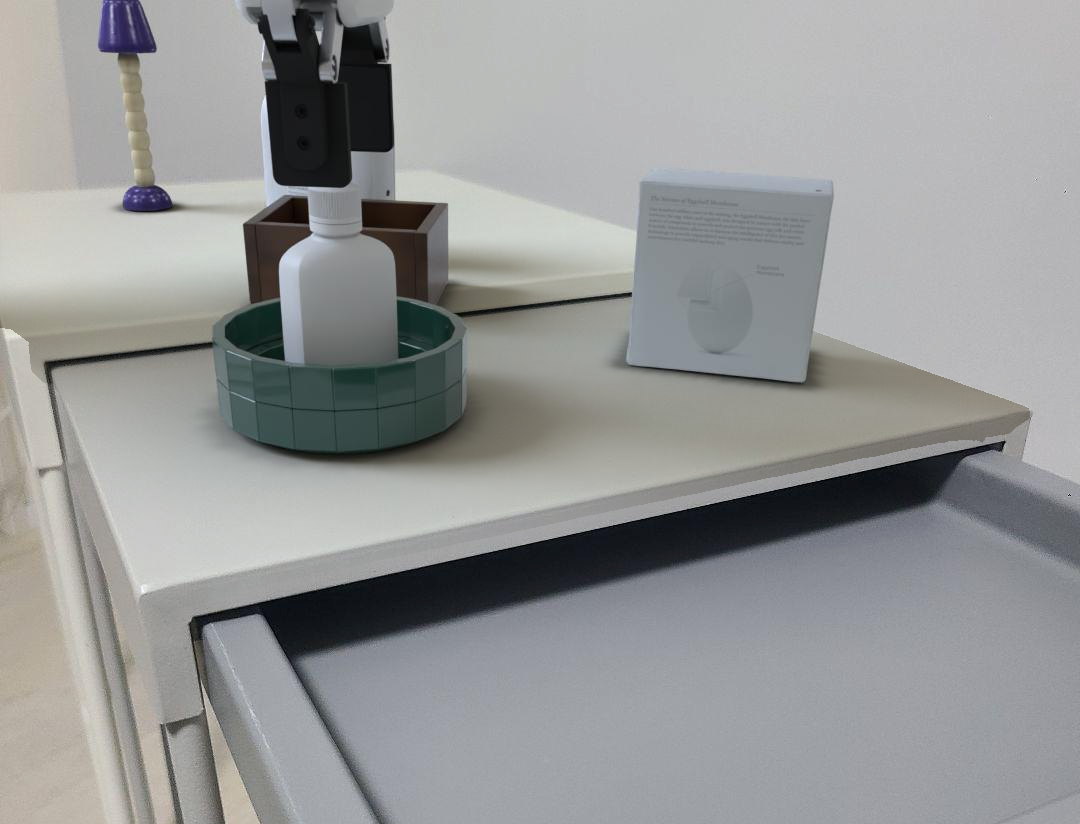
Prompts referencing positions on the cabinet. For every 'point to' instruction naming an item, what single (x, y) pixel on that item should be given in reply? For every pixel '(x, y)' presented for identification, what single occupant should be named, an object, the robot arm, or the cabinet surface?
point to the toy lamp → (133, 94)
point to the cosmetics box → (728, 272)
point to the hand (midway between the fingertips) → (339, 166)
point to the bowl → (341, 383)
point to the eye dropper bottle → (338, 287)
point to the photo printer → (367, 171)
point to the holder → (397, 224)
